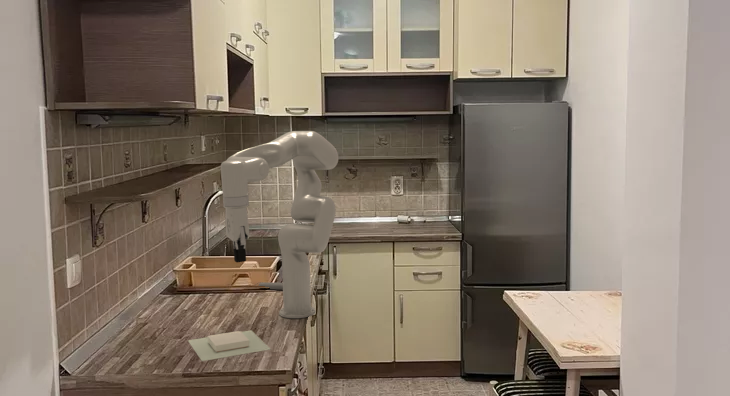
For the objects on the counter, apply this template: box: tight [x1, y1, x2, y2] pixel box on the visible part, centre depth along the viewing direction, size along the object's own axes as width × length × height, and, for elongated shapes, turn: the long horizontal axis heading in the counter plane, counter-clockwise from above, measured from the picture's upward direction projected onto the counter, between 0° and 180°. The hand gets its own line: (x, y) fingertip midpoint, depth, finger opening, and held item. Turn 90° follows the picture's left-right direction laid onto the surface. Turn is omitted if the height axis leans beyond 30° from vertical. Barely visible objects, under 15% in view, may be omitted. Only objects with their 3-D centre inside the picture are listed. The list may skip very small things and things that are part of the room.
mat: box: [187, 329, 271, 362], centre depth 196 cm, size 20×20×1 cm
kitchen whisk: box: [256, 277, 332, 296], centre depth 259 cm, size 6×34×6 cm, turn 68°
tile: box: [207, 330, 249, 352], centre depth 196 cm, size 2×10×10 cm
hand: (240, 261), depth 199 cm, fingers closed
